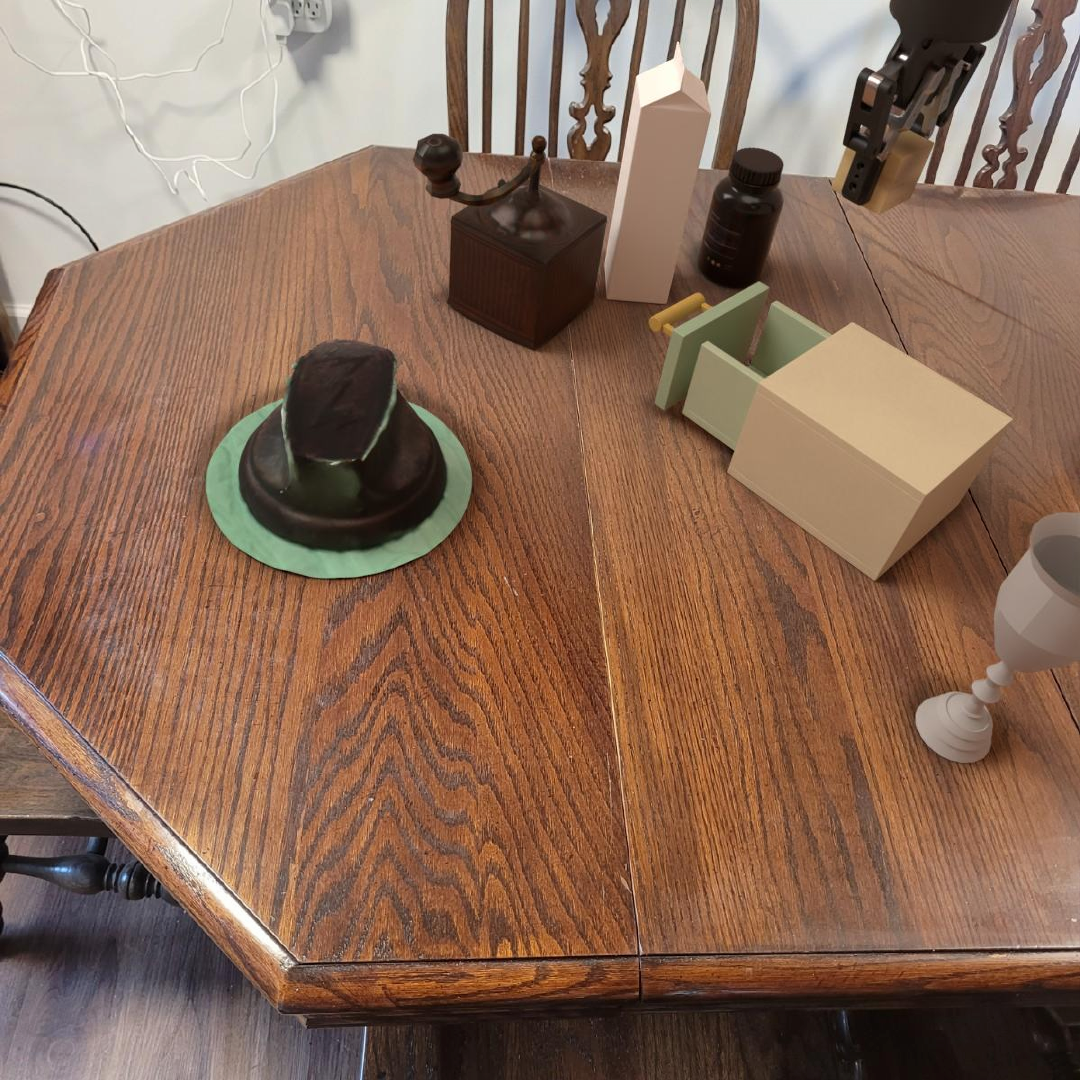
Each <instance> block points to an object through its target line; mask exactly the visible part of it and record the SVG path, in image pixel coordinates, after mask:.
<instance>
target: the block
mask: <svg viewBox="0 0 1080 1080" xmlns="http://www.w3.org/2000/svg"><path fill="white" fill-rule="evenodd" d="M861 128H862V127H861ZM861 128H860V130H861ZM888 130H889V125H888V124H887V126H886V130H885V134H884V138H885V136H886V134H887V132H888ZM884 138H883V139H884ZM934 146H935V142H934V141H932V140H930V139H926V138H924V137H922V136H920V135H918V134H916V133H914V132H912V131H910V130H908V131H903V132H901V134H900V135H899V137H898V139H897V141H896V142H895V144H894V146H893V148H892V150H891V152H890V153H889V156H888V157H887V158H886V163H885V165H884V167H883V170H882V172H881V175H880V177H879V180H878V182H877V184H876V187H875V189H874V192H873V194H872V197H871V199H870V201H869V202H868V203H866V204H864V205H862V206H861V207H864V208H865V209H866V210H868V211H870V212H872V213H874V214H876V215H877V216H880V215H882V214H884V213H886V212H887V211H889V210H892V209H894V208H895V207H897V206H899V205H902V204H903V203H905V202H907V201H909V200H910V199H911V198H912V195H913V193H914V191H915V188H916V187H917V183H918V182H919V180H920V177H921V175H922V173H923V171H924V168H925V166H926V164H927V163H928V160H929V157H930V155H931V153H932V151H933V149H934ZM855 153H856V152H855V151H853V150H851V149H850V148H848V147H846V146H845V148H844V152H843V155H842V157H841V159H840V162H839V165H838V168H837V170H836V173H835V176H834V178H833V182H832V184H831V188H830V189H831V190H832V191H834V192H836V193H838V194H839V195H841V196H842V193H841V191H842V188H843V185H844V182H845V180H846V177H847V174H848V172H849V169H850V167H851V164H852V161H853V159H854V156H855Z"/></svg>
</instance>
